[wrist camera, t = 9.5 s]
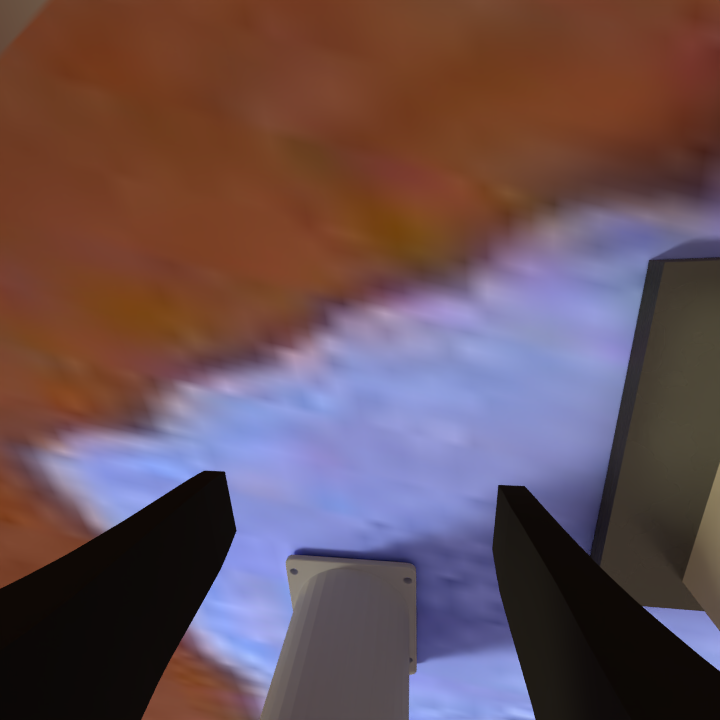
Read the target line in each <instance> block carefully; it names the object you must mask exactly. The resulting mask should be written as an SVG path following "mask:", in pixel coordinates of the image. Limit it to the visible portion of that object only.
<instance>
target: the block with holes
mask: <svg viewBox="0 0 720 720" xmlns="http://www.w3.org/2000/svg"><path fill="white" fill-rule="evenodd" d="M682 582H683V583H684V584H685V586H686V587H687V588H688V590H689V591H690V592H691V594H692V595H693V596H694V598H695V599H696V600H697V602H698V603H699V604H700V606H701V607H702V608H703V610H704V611H705V612H706V614H707V615H708V616H709V617H710V619H711V620H712V621H713V623H714V624H715V625H716V627H717V628H718V629H719V631H720V463H719V467H718V470H717V473H716V476H715V479H714V482H713V486H712V489H711V492H710V495H709V498H708V501H707V505H706V508H705V511H704V514H703V517H702V520H701V524H700V527H699V530H698V533H697V536H696V539H695V543H694V546H693V549H692V552H691V555H690V558H689V562H688V565H687V568H686V571H685V574H684V578H683V581H682Z"/></svg>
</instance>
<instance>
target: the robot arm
mask: <svg viewBox="0 0 720 720" xmlns="http://www.w3.org/2000/svg"><path fill="white" fill-rule="evenodd" d="M235 533H236V526H235V521H234V516H233V511H232V506H231V501H230V496H229V490H228V485H227V480H226V475H225V472H221V471H203V472H201V473H199V474H197V475H196V476H194V477H192V478H190V479H189V480H187V481H186V482H184V483H182V484H181V485H179V486H178V487H176V488H174V489H173V490H171V491H170V492H168V493H167V494H165V495H164V496H162V497H160V498H159V499H157V500H156V501H154V502H153V503H151V504H149V505H148V506H146V507H145V508H143V509H142V510H140V511H139V512H137V513H135V514H134V515H132V516H131V517H129V518H127V519H126V520H124V521H123V522H121V523H119V524H118V525H116V526H114V527H113V528H111V529H109V530H108V531H106V532H104V533H103V534H101V535H99V536H98V537H96V538H94V539H92V540H91V541H89V542H87V543H86V544H84V545H82V546H81V547H79V548H77V549H76V550H74V551H72V552H70V553H68V554H67V555H65V556H63V557H61V558H59V559H58V560H56V561H54V562H52V563H50V564H48V565H46V566H44V567H42V568H41V569H39V570H37V571H35V572H33V573H31V574H29V575H27V576H25V577H23V578H21V579H19V580H17V581H15V582H13V583H11V584H9V585H7V586H5V587H3V588H1V589H0V720H141V719H142V717H143V714H144V712H145V710H146V708H147V706H148V704H149V701H150V699H151V697H152V695H153V693H154V691H155V688H156V686H157V684H158V682H159V680H160V678H161V676H162V674H163V672H164V670H165V669H166V667H167V665H168V663H169V661H170V659H171V657H172V655H173V654H174V652H175V650H176V648H177V647H178V645H179V643H180V641H181V639H182V638H183V636H184V634H185V632H186V631H187V629H188V627H189V625H190V623H191V622H192V620H193V618H194V616H195V615H196V613H197V611H198V609H199V607H200V606H201V604H202V602H203V600H204V599H205V597H206V595H207V593H208V591H209V590H210V588H211V586H212V584H213V582H214V580H215V579H216V577H217V575H218V573H219V571H220V569H221V567H222V565H223V563H224V560H225V558H226V556H227V553H228V551H229V548H230V546H231V543H232V541H233V538H234V536H235ZM492 550H493V556H494V562H495V568H496V574H497V580H498V585H499V591H500V595H501V599H502V602H503V606H504V609H505V613H506V617H507V620H508V624H509V627H510V631H511V634H512V638H513V641H514V645H515V648H516V652H517V655H518V658H519V662H520V665H521V669H522V672H523V676H524V679H525V683H526V686H527V690H528V693H529V697H530V700H531V704H532V707H533V711H534V715H535V719H536V720H720V671H719V670H717V669H716V668H715V667H714V666H712V665H711V664H710V663H709V662H707V661H706V660H705V659H704V658H702V657H701V656H700V655H699V654H697V653H696V652H695V651H694V650H693V649H691V648H690V647H689V646H688V645H687V644H685V643H684V642H683V641H682V640H681V639H680V638H678V637H677V636H676V635H675V634H674V633H672V632H671V631H670V630H669V629H668V628H666V627H665V626H664V625H663V624H662V623H661V622H659V621H658V620H657V619H656V618H655V617H654V616H652V615H651V614H650V613H649V612H648V611H647V610H646V609H644V608H643V607H642V606H641V605H640V604H639V603H638V602H637V601H636V600H634V599H633V598H632V597H631V596H630V595H629V594H628V593H627V592H626V591H625V590H624V589H623V588H622V587H621V586H620V585H618V584H617V583H616V582H615V581H614V580H613V579H612V578H611V577H610V576H609V575H608V574H607V573H606V572H605V571H604V570H603V569H602V568H601V567H600V566H599V565H598V564H597V563H596V562H595V561H594V560H593V559H592V558H591V557H590V556H589V555H588V554H587V553H586V552H585V551H584V550H583V549H582V548H581V547H580V546H579V545H578V544H577V543H576V542H575V541H574V540H573V539H572V537H571V536H570V535H569V534H568V533H567V532H566V531H565V530H564V529H563V528H562V527H561V526H560V525H559V523H558V522H557V521H556V520H555V519H554V518H553V517H552V516H551V515H550V514H549V513H548V511H547V510H546V509H545V508H544V507H543V506H542V505H541V504H540V503H539V501H538V500H537V499H536V498H535V497H534V496H533V495H532V494H531V493H530V491H529V490H528V489H527V488H526V487H525V486H509V485H498V495H497V506H496V516H495V527H494V537H493V547H492ZM286 570H287V576H288V582H289V589H290V595H291V601H292V608H293V614H292V617H291V621H290V624H289V627H288V630H287V633H286V637H285V640H284V643H283V646H282V649H281V653H280V656H279V659H278V662H277V666H276V669H275V672H274V675H273V678H272V682H271V685H270V688H269V691H268V694H267V698H266V701H265V704H264V707H263V710H262V714H261V717H260V720H409V675H412V674H414V673H415V672H416V670H417V654H416V568H415V566H414V565H412V564H410V563H403V562H389V561H375V560H361V559H348V558H334V557H320V556H307V555H290V556H288V558H287V560H286ZM406 577H408V578H406Z"/></svg>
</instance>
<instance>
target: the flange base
mask: <svg viewBox="0 0 720 720" xmlns="http://www.w3.org/2000/svg"><path fill="white" fill-rule="evenodd" d="M719 463H720V257H715V258H690V259H664V260H649V264H648V269H647V274H646V279H645V284H644V289H643V294H642V299H641V304H640V309H639V314H638V319H637V325H636V330H635V335H634V340H633V345H632V350H631V355H630V360H629V365H628V370H627V375H626V380H625V385H624V390H623V395H622V400H621V405H620V410H619V415H618V420H617V425H616V430H615V435H614V440H613V445H612V450H611V455H610V460H609V465H608V470H607V475H606V480H605V485H604V490H603V495H602V500H601V505H600V510H599V515H598V520H597V525H596V530H595V535H594V541H593V546H592V551H591V556H590V557H591V558H592V559H593V560H594V561H595V562H596V563H597V564H598V565H599V566H600V567H601V568H602V569H603V570H604V571H605V572H606V573H607V574H608V575H609V576H610V577H611V578H612V579H613V580H614V581H615V582H616V583H617V584H618V585H620V586H621V587H622V588H623V589H624V590H625V591H626V592H627V593H628V594H629V595H630V596H631V597H632V598H633V599H634V600H636V601H637V602H638V603H639V604H640V605H641V606H648V607H660V608H672V609H684V610H697V611H704V610H703V608H702V607H701V606H700V604H699V603H698V602H697V600H696V599H695V598H694V596H693V595H692V594H691V592H690V591H689V590H688V588H687V587H686V586H685V584H684V583H683V582H682V581H683V578H684V574H685V571H686V568H687V565H688V562H689V558H690V555H691V552H692V549H693V546H694V543H695V539H696V536H697V533H698V530H699V527H700V524H701V520H702V517H703V514H704V511H705V508H706V505H707V501H708V498H709V495H710V492H711V489H712V486H713V482H714V479H715V476H716V473H717V470H718V467H719Z"/></svg>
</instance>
